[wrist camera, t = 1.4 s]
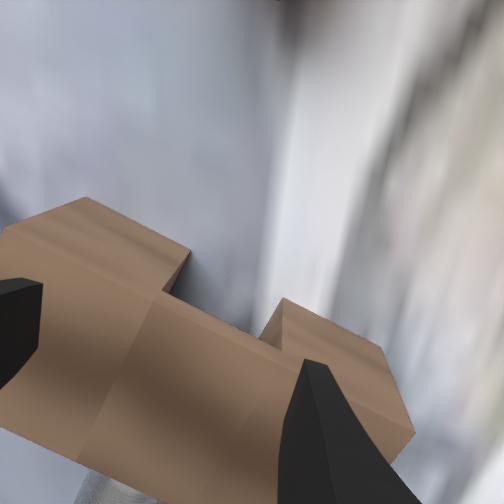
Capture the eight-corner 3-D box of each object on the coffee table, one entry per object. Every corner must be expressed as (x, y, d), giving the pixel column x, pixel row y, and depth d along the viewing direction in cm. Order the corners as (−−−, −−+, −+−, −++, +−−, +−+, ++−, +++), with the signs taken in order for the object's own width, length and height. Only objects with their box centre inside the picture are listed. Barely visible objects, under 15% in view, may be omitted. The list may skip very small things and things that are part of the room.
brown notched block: (301, 458, 23) (305, 568, 18) (34, 329, 22) (-54, 402, 16) (380, 347, 21) (415, 432, 15) (86, 196, 20) (4, 227, 14)
